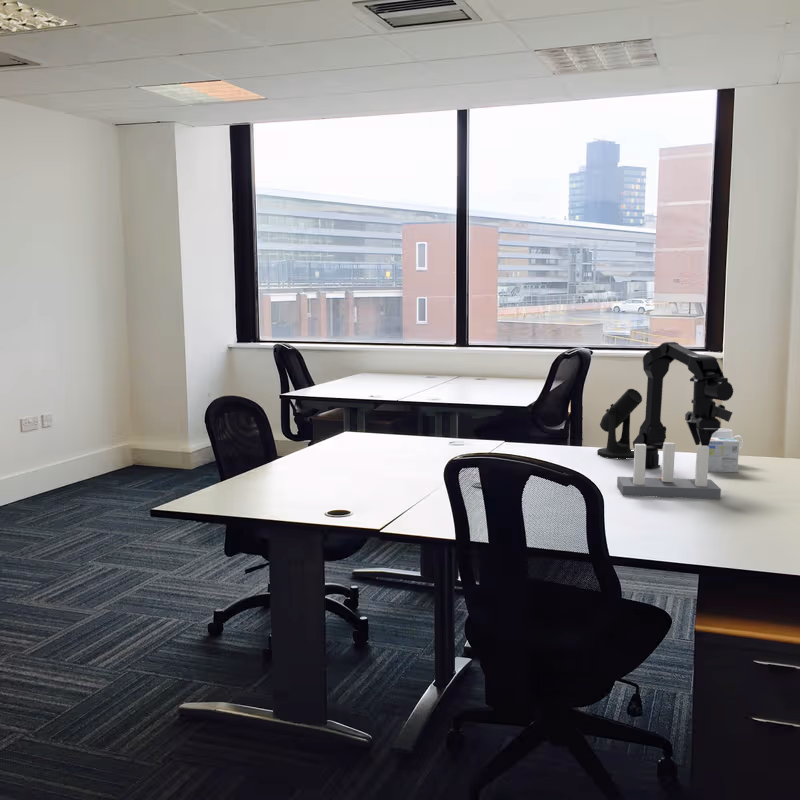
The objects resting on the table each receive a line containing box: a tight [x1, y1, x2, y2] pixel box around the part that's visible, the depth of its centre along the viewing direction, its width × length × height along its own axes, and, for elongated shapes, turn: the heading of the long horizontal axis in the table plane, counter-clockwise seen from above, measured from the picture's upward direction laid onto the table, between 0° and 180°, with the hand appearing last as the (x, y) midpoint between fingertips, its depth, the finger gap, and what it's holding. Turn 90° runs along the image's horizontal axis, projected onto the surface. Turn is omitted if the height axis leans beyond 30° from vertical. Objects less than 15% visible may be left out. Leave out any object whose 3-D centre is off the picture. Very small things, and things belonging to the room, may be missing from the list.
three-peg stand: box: [616, 444, 722, 500], centre depth 252 cm, size 12×28×15 cm, turn 83°
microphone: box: [597, 388, 643, 460], centre depth 305 cm, size 15×17×25 cm
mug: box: [711, 427, 744, 451], centre depth 295 cm, size 12×8×11 cm
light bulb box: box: [708, 438, 740, 473], centre depth 283 cm, size 11×7×11 cm, turn 84°
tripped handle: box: [661, 441, 676, 482], centre depth 253 cm, size 2×3×12 cm, turn 83°
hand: (701, 447), depth 259 cm, fingers open, 9 cm apart
